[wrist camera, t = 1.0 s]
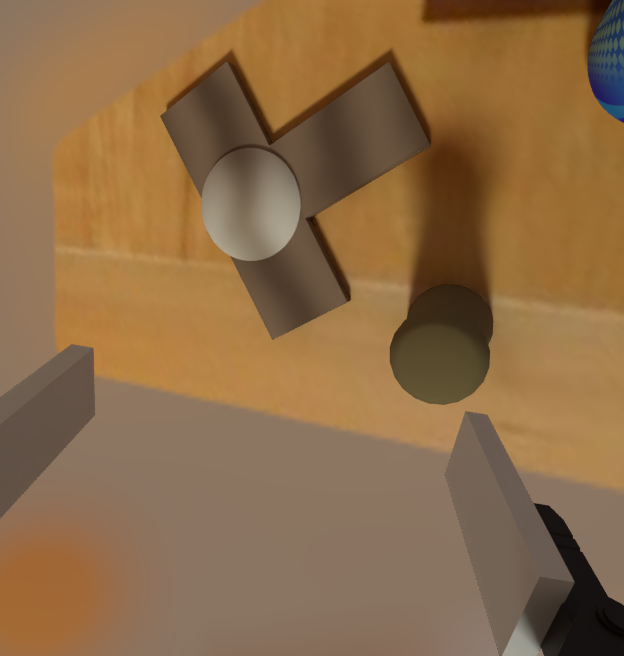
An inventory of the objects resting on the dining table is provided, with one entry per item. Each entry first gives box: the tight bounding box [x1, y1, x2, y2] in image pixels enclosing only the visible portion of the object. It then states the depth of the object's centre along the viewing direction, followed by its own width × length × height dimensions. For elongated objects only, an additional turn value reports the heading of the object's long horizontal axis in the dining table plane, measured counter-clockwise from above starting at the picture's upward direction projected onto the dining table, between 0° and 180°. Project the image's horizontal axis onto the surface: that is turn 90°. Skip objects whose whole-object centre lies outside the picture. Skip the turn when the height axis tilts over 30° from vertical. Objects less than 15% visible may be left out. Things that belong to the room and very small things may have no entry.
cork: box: [390, 285, 493, 405], centre depth 29 cm, size 6×6×11 cm
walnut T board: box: [160, 62, 431, 340], centre depth 35 cm, size 18×20×1 cm
